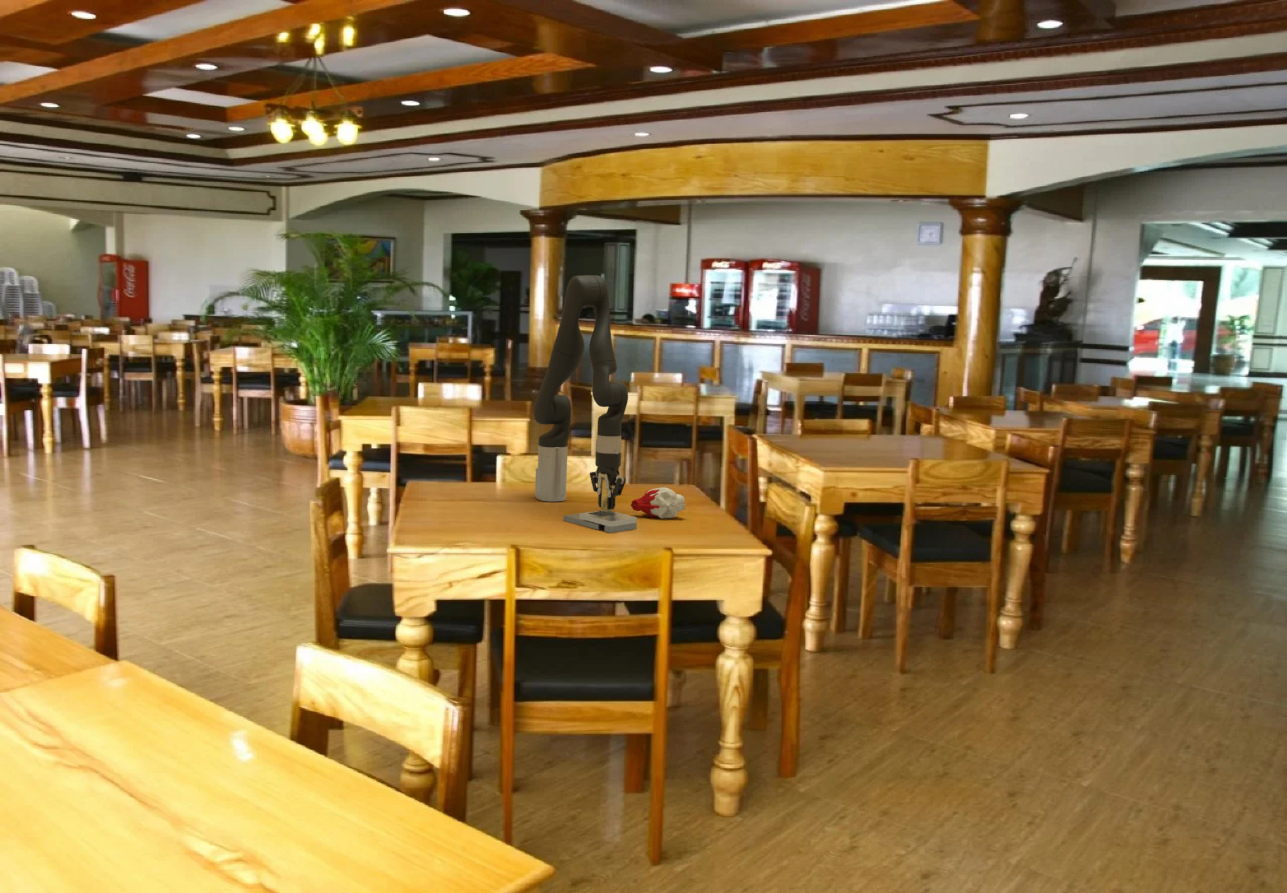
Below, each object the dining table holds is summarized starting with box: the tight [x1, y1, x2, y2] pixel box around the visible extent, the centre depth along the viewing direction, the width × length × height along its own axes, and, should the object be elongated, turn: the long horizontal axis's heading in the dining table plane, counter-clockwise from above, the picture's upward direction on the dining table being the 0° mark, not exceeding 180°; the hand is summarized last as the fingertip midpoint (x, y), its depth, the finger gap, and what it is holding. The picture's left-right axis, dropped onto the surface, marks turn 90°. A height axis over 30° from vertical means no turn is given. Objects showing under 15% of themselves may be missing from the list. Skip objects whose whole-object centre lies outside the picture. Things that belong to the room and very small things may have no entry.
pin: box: [600, 474, 613, 511], centre depth 317 cm, size 4×4×13 cm
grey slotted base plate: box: [563, 509, 638, 534], centre depth 307 cm, size 20×10×3 cm, turn 45°
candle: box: [630, 487, 687, 519], centre depth 321 cm, size 9×11×15 cm
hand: (606, 507), depth 318 cm, fingers closed on pin, 3 cm apart
